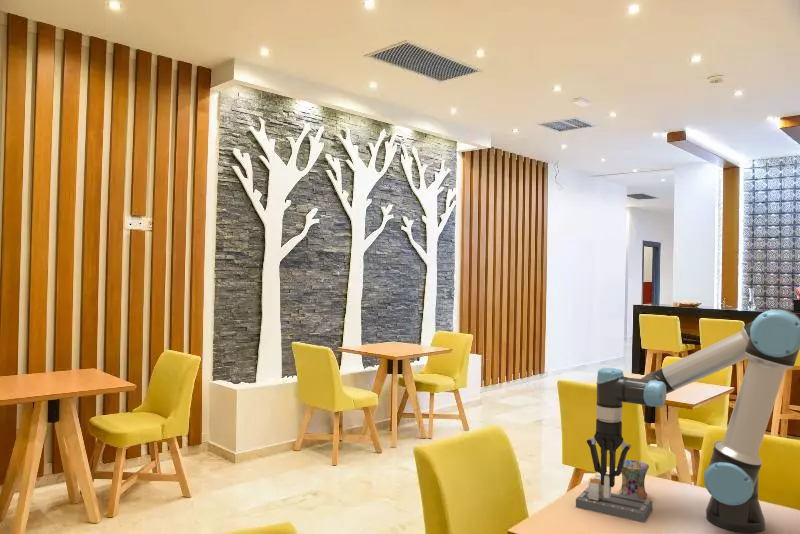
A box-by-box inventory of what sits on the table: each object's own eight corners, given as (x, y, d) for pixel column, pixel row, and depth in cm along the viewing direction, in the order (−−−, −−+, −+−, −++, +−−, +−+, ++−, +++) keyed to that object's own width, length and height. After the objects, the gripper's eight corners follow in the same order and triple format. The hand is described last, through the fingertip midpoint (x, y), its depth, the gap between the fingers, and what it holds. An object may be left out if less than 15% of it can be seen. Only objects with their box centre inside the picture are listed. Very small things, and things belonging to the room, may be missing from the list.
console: (652, 509, 188) (652, 482, 188) (644, 522, 178) (644, 494, 178) (586, 495, 198) (587, 470, 199) (575, 507, 188) (576, 480, 188)
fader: (601, 496, 190) (602, 478, 190) (598, 500, 186) (598, 482, 186) (591, 494, 191) (592, 476, 191) (588, 498, 188) (588, 480, 188)
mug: (652, 502, 193) (653, 469, 193) (622, 501, 194) (623, 468, 194) (640, 489, 205) (640, 457, 205) (612, 488, 206) (612, 456, 206)
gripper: (634, 420, 186) (632, 497, 186) (591, 414, 193) (589, 488, 193) (628, 425, 180) (626, 505, 180) (584, 418, 187) (582, 495, 187)
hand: (607, 496), depth 187 cm, fingers closed
